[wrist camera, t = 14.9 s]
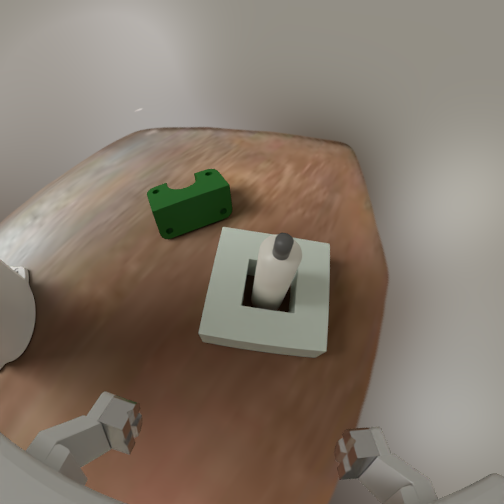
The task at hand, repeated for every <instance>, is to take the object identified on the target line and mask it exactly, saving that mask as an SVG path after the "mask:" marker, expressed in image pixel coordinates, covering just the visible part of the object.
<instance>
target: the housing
mask: <svg viewBox="0 0 504 504" xmlns="http://www.w3.org/2000/svg"><path fill="white" fill-rule="evenodd" d="M272 235H273V234H266V233H260V232H254V231H247V230H240V229H234V228H227V227H223V228H222V232H221V236H220V240H219V244H218V249H217V253H216V257H215V261H214V265H213V270H212V274H211V278H210V283H209V287H208V291H207V296H206V300H205V305H204V309H203V314H202V318H201V323H200V328H199V333H198V334H199V336H200V338H201V340H202V342H206V343H211V344H217V345H222V346H228V347H234V348H240V349H246V350H253V351H260V352H267V353H275V354H283V355H292V356H301V357H312V358H316V357H318V356H319V355H321V354H323V353H325V352H326V349H327V334H328V314H329V281H330V244H327V243H322V242H316V241H310V240H304V239H298V238H293V239H294V240H295V241H296V242H297V243H298V244H299V245H300V247H301V250H302V260H301V262H300V265H299V267H298V269H297V271H296V273H295V276H294V278H293V280H292V282H291V291H290V301H289V311H288V312H280V311H273V310H267V309H260V308H253V307H247V306H242V303H243V297H244V291H245V285H246V279H247V275H251V276H255V272H256V266H257V260H258V254H259V248H260V245H261V243H262V242H263V241H264V240H265V239H266V238H267V237H269V236H272Z"/></svg>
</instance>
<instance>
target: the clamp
mask: <svg viewBox="0 0 504 504" xmlns="http://www.w3.org/2000/svg"><path fill="white" fill-rule="evenodd" d="M194 175H195V180H196V182H195V183H194V184H193V185H191V186H189V187H187V188H183V189H170V188H168V186H167V183H165V184H162V185H159V186H156V187H154V188H152V189H150V190H149V191H148V192H147V196H148V199H149V203H150V206H151V209H152V212H153V215H154V218H155V221H156V224H157V226H158V229H159V232H160V235H161V236H162V237H163V238H165V239H171V238H174V237H176V236H179V235H182V234H184V233H187V232H190V231H192V230H195V229H198V228H200V227H203V226H206V225H208V224H211V223H214V222H217V221H219V220H222V219H225V218H227V217H228V216H229V215H230V214H231V213H232V202H231V194H230V186H229V184H228V183H227V181H226V180H225V179H224V178H223V177H222V175H221V174H220V173H219V172H218V171H217V170H215V169H207V170H204V171H201V172H198V173H194Z"/></svg>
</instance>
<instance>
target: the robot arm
mask: <svg viewBox="0 0 504 504" xmlns="http://www.w3.org/2000/svg"><path fill="white" fill-rule="evenodd" d="M34 324H35V301H34V297H33V294H32V291H31V289H30V286H29V275H28V270H27V269H26V268H24V267H16V266H8V265H6V264H5V263H4V262H3V261H1V260H0V369H1V368H2V367H3V366H4V364H6V363H8V362H11V361H13V360H15V359H17V358H18V357H19V356H20V355H21V354H22V353H23V352H24V350H25V349H26V347H27V345H28V343H29V341H30V339H31V336H32V333H33V329H34ZM139 411H140V404H139V403H137V402H134V401H131V400H128V399H125V398H122V397H120V396H117V395H114V394H111V393H109V392H106V391H105V392H103V393H102V394H101V395H100V397H99V398H98V400H97V401H96V403H95V404H94V406H93V407H92V409H91V410H90V412H89V413H88V415H87V416H84V415H83V416H80V417H78V418H75V419H73V420H70V421H67V422H65V423H62V424H59V425H57V426H54V427H51V428H48V429H46V430H43V431H40V432H39V433H38V435H37V436H36V437H35V439H34V440H33V442H32V443H31V444H30V446H29V447H28V448H27V450H26V451H24V450H23V449H22V448H20V447H19V446H17V445H16V444H15V443H13V442H12V441H11V440H9V439H8V438H7V437H6V436H4V435H3V434H2V433H1V432H0V504H127V503H124V502H121V501H119V500H116V499H114V498H111V497H109V496H106V495H104V494H101V493H99V492H97V491H95V490H92V489H90V488H88V487H86V486H85V484H86V482H87V477H86V475H85V474H84V473H83V471H82V470H81V468H80V467H82V466H84V465H86V464H87V463H89V462H91V461H92V460H94V459H96V458H97V457H99V456H101V455H102V454H104V453H106V452H107V451H109V450H111V448H112V449H115V450H118V451H120V452H123V453H126V454H131V451H132V449H133V447H134V445H135V440H134V438H135V437H136V436H138V435H139V433H140V431H141V427H142V415H141V414H140V413H139ZM342 436H343V438H342V439H340V440H338V442H337V444H336V446H335V451H334V452H335V460H336V461H337V462H338V463H339V466H338V467H337V470H338V475H339V480H346V479H357V478H358V480H359V481H360V482H361V483H362V484H363V485H364V486H365V487H366V488H367V489H368V490H369V491H370V492H371V494H372V495H374V497H376V498H377V500H378V501H379V502H380V503H382V504H504V477H503V476H501V475H499V474H496V473H494V474H490V475H488V476H486V477H485V478H483V479H481V480H479V481H477V482H475V483H473V484H471V485H469V486H467V487H465V488H463V489H461V490H459V491H457V492H454V493H452V494H450V495H448V496H445V497H443V498H440V499H438V498H437V495H436V493H435V490H434V488H433V486H432V483H431V481H430V479H429V478H428V477H427V476H425V475H424V474H422V473H421V472H419V471H418V470H416V469H415V468H413V467H412V466H410V465H409V464H408V463H406V462H405V461H403V460H402V459H401V458H399V457H398V456H397V455H395V454H391V452H390V449H389V447H388V444H387V442H386V439H385V437H384V434H383V432H382V429H381V428H380V427H371V428H356V429H346V430H345V431H344V432H343V434H342Z"/></svg>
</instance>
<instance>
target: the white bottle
mask: <svg viewBox="0 0 504 504" xmlns="http://www.w3.org/2000/svg"><path fill="white" fill-rule="evenodd" d="M301 260H302V250H301V247H300V245H299V244H298V243H297V242H296V241H295V240H294V239H293V238H292V236H290V235H289V234H287V233H280V234H277V235H272V236H269V237H267V238H266V239H265V240H264V241H263V242H262V243H261V245H260V248H259V254H258V260H257V266H256V272H255V278H254V284H253V290H252V296H251V302H252V305H253V306H254V308H260V309H267V310H273V311H277V310H278V309H279V307H280V306H281V303H282V301H283V299H284V297H285V295H286V293H287V291H288V289H289V286H290V284H291V282H292V280H293V278H294V276H295V273H296V271H297V269H298V267H299V265H300V262H301Z"/></svg>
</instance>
